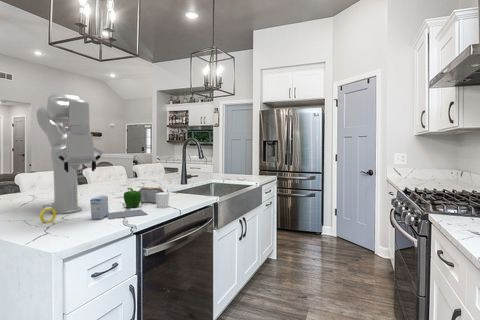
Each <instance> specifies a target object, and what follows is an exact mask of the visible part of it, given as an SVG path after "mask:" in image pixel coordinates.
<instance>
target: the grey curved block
mask: <svg viewBox="0 0 480 320" xmlns="http://www.w3.org/2000/svg"><path fill="white" fill-rule="evenodd" d="M138 191H140V192H141V201H140V203H142V204H157V203H156V193H161V192H164V190H163V189H162V188H160V187H146V186H145V187H142V188H140V189H138Z"/></svg>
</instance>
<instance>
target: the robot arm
mask: <svg viewBox="0 0 480 320" xmlns="http://www.w3.org/2000/svg"><path fill="white" fill-rule="evenodd" d="M36 119H37V123H38V125H39V128H40V129H41V130H42V131H43V133H44V134H45V135H46V136H47V140H48V142H49V145H50V147H51V150H50V157H51V162H52V169H53V170H52V171H53V193H54V194H53V195H54V197H53V199H54V201H53V202H51V203H50V204H42V209H43V210H44V208H46V207H52V209H54V210H55V211H56V215H57V214H58V215H62V214H71V213H77V212H80V211H82V207H81V206H79V203H78V201H79V200H78V198H79V197H78V193H79V192H78V174H77V171H76V170H75V169H74V168H73V166H74V165H89V164H91V171H92V172H95V170H96V169H97V161H98V160H99V159H101V157H102V156H103V155H102V154H103V153H104V151H102V150H100V149H98V148H96V147H95V146H94V139H93V134H92V133H91V132H90V131H91V129H90V124H91V123H90V104H89V102H88V101H86V100H82V99H81V98H80V97H79V96H78V95H75V94H67V93H62V92H61V93H59V92H55V93H51V94H50V95H49V96H48V98H47V104H46V105H45V106H40V107H39V108H38V109H37V110H36ZM61 124H68V126H65V127H63V126H62V125H61ZM95 152H96V153H98V154H97V155H96V156H95ZM50 213H51V214H53V212H52V210H50Z"/></svg>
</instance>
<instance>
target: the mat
mask: <svg viewBox="0 0 480 320" xmlns="http://www.w3.org/2000/svg"><path fill="white" fill-rule="evenodd" d="M140 216H148V213H147V212H145V211H144V210H143V209H132V210H123V211H114V212H109V214H108V215H106V216H105V217H107V219H108V220H116V218H117V219H123V218H132V217H140Z"/></svg>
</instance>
